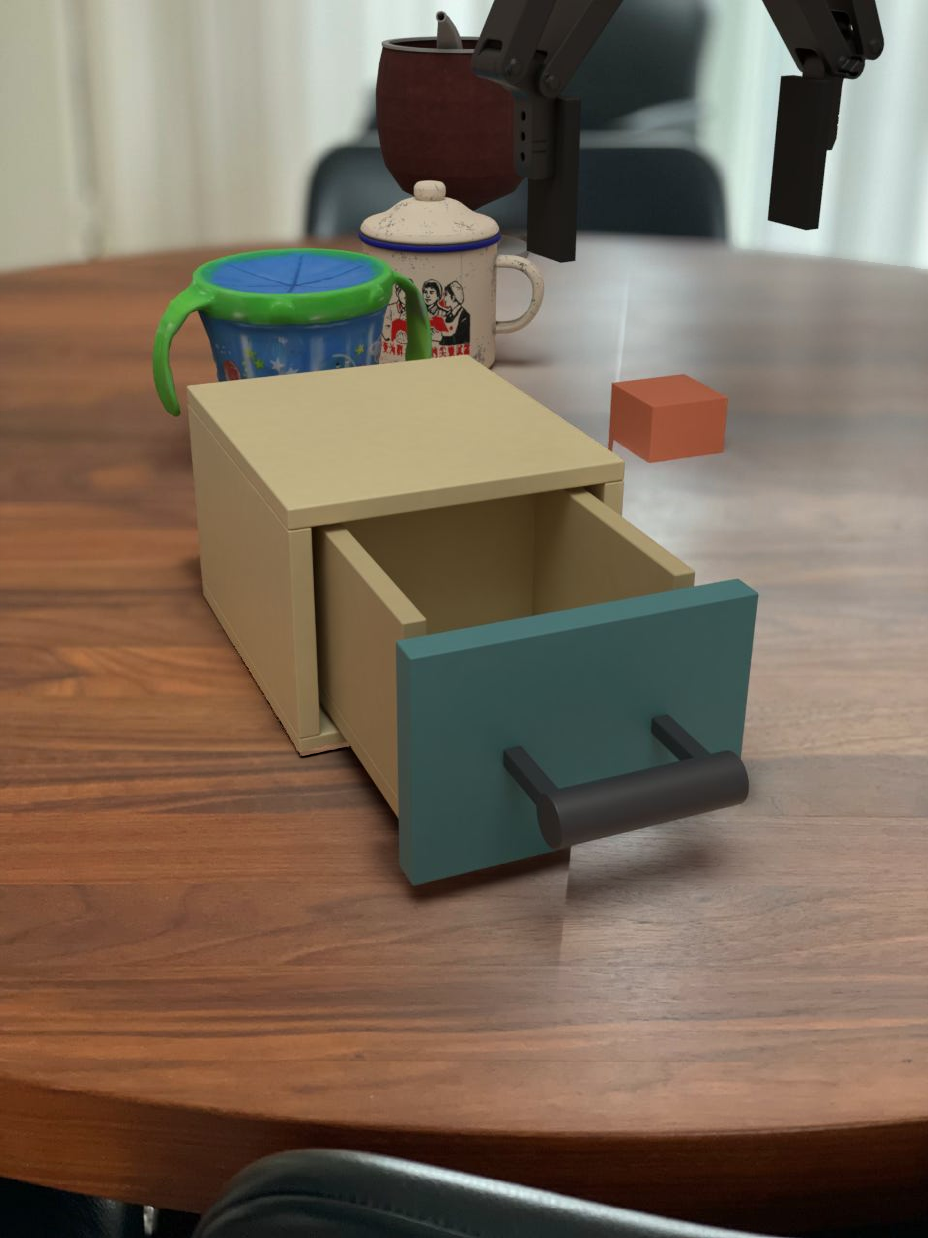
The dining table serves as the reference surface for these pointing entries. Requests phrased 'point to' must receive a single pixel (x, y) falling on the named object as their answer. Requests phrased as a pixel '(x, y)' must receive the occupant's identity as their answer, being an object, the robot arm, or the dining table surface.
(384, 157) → the mate gourd
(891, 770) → the dining table surface
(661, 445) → the block
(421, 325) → the snack cup
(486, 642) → the drawer
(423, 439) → the cabinet
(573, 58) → the robot arm
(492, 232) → the teacup with lid
